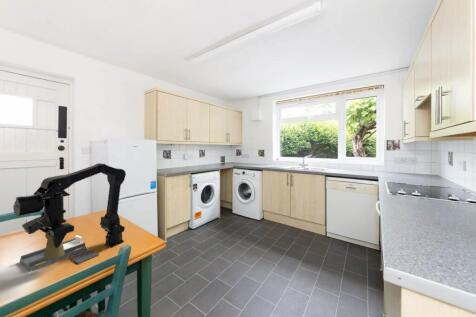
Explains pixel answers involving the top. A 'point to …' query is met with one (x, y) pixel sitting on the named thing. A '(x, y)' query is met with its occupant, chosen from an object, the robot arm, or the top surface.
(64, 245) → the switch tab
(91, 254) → the rubber pad
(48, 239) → the cork
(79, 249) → the grey slide rail tray
